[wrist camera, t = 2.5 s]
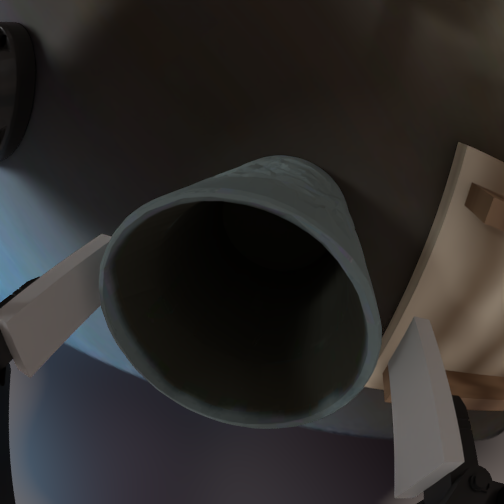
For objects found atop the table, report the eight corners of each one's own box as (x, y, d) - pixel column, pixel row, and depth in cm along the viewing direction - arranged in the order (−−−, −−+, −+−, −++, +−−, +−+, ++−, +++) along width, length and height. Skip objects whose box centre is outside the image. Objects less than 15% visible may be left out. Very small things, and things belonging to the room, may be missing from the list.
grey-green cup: (316, 304, 23) (295, 451, 12) (189, 249, 23) (95, 363, 13) (384, 181, 18) (449, 289, 7) (232, 115, 18) (109, 141, 8)
